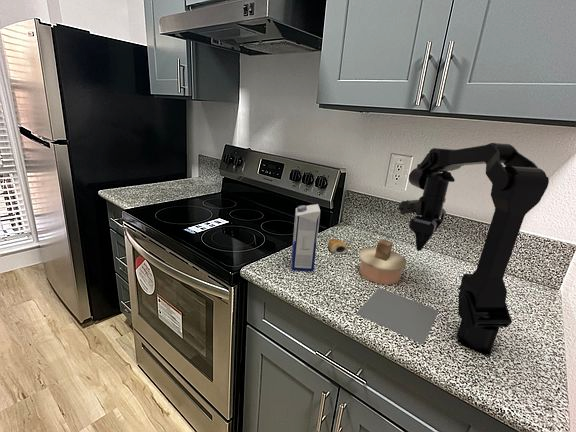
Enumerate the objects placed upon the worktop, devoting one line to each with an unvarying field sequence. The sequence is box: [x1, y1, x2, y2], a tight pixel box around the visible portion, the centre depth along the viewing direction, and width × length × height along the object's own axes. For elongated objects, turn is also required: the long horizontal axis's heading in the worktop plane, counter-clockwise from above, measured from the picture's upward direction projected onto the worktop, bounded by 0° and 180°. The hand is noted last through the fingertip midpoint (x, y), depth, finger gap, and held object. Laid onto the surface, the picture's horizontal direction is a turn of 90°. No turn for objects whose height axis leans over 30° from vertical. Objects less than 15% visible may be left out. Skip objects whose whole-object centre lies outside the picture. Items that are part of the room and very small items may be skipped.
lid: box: [358, 238, 407, 271], centre depth 94 cm, size 14×14×6 cm
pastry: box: [327, 238, 349, 255], centre depth 113 cm, size 9×7×4 cm
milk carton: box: [290, 203, 321, 273], centre depth 95 cm, size 7×7×20 cm
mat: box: [355, 287, 440, 345], centre depth 78 cm, size 16×16×1 cm
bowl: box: [359, 260, 403, 286], centre depth 96 cm, size 12×12×6 cm
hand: (422, 245), depth 91 cm, fingers open, 9 cm apart
